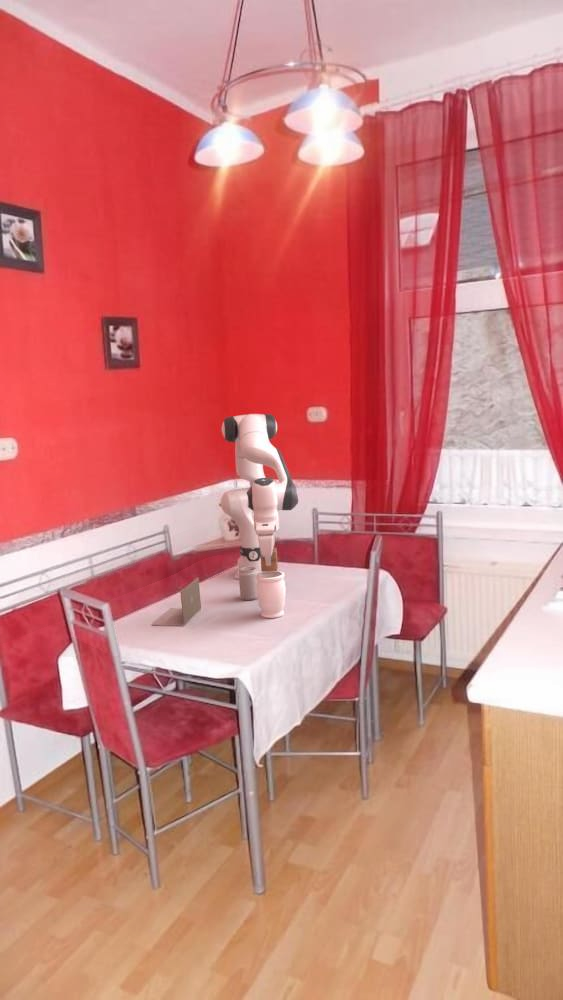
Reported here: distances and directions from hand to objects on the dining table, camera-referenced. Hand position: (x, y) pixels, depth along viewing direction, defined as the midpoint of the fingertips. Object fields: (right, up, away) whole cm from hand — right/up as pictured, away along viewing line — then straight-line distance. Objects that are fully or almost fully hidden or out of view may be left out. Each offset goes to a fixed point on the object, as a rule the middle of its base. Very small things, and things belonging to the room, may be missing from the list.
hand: (269, 562), depth 254 cm
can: (-8, -16, +24) cm, 30 cm away
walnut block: (0, -2, 0) cm, 2 cm away
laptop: (-34, -21, +7) cm, 40 cm away
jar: (+1, -19, +3) cm, 19 cm away
